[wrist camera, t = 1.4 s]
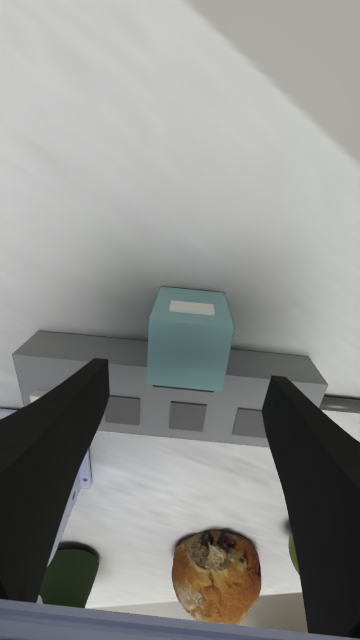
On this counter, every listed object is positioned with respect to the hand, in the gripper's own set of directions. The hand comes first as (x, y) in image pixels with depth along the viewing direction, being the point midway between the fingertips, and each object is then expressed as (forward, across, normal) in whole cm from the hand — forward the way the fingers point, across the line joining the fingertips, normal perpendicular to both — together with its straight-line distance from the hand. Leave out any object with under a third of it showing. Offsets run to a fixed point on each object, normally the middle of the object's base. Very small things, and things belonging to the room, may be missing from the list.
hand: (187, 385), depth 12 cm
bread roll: (+8, -6, +30) cm, 32 cm away
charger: (+8, 0, 0) cm, 8 cm away
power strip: (+8, -3, +6) cm, 10 cm away
